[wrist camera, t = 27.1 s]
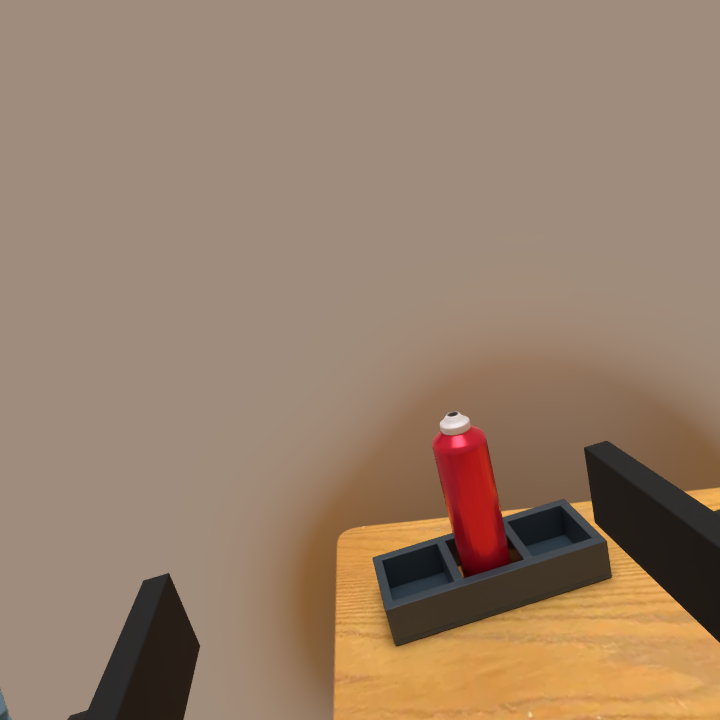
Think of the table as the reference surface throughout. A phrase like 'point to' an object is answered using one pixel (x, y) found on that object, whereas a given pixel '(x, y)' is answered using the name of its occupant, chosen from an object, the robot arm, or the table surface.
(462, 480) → the bottle
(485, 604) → the rack
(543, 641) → the table surface
